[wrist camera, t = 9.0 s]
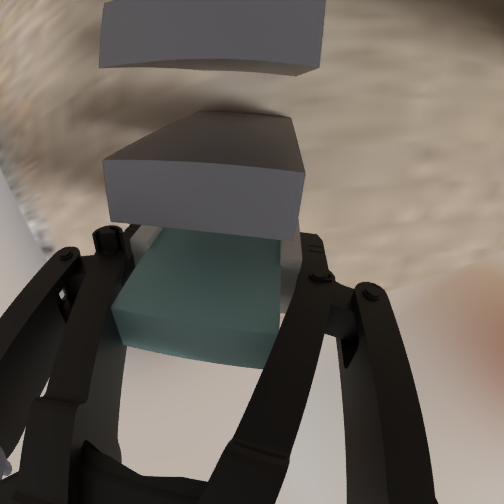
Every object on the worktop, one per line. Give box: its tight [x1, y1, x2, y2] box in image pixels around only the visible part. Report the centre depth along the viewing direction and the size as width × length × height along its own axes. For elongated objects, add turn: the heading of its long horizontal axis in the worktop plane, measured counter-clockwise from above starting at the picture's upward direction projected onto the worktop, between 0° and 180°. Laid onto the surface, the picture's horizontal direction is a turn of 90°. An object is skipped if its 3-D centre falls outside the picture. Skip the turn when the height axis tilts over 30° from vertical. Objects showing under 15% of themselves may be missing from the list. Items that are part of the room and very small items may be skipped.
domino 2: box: [103, 111, 305, 242], centre depth 11 cm, size 2×5×10 cm, turn 86°
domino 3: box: [111, 227, 281, 369], centre depth 13 cm, size 2×5×10 cm, turn 86°
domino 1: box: [99, 0, 326, 76], centre depth 9 cm, size 2×5×10 cm, turn 86°
